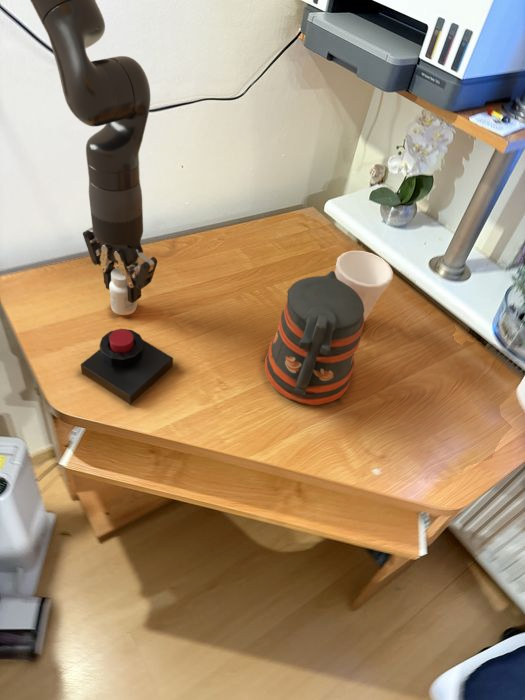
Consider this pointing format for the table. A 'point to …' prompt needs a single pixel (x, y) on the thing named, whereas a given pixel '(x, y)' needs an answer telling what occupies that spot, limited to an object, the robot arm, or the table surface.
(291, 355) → the beer stein
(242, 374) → the table surface
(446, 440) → the table surface
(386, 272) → the cup
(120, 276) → the pill bottle
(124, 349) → the lid button
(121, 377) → the push button housing
